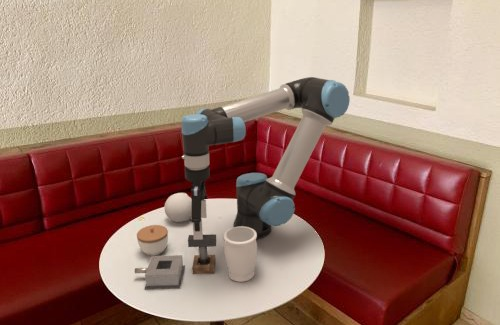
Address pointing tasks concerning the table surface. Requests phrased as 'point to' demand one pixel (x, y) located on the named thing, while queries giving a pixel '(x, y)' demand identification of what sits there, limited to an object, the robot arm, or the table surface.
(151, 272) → the square block with stud
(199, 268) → the key stand
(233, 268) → the jar
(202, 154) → the robot arm
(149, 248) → the lidded jar
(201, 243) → the bar
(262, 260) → the table surface
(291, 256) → the table surface
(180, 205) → the decorative ball
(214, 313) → the table surface
